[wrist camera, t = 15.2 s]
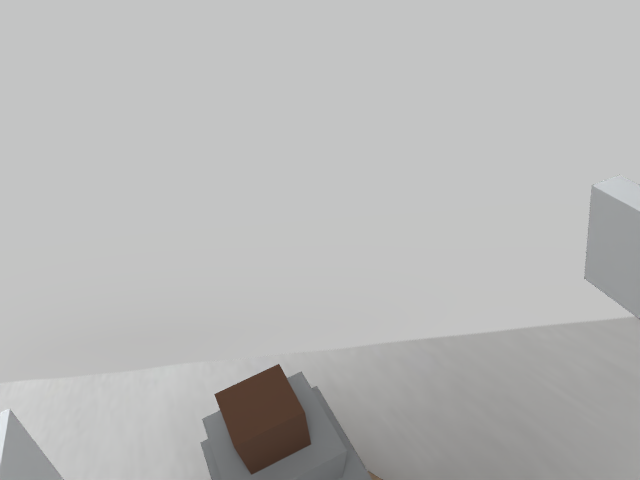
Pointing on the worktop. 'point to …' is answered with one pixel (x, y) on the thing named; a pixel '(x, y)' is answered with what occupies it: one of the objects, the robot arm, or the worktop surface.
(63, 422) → the worktop surface
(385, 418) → the worktop surface
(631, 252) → the robot arm
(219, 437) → the perfume bottle
